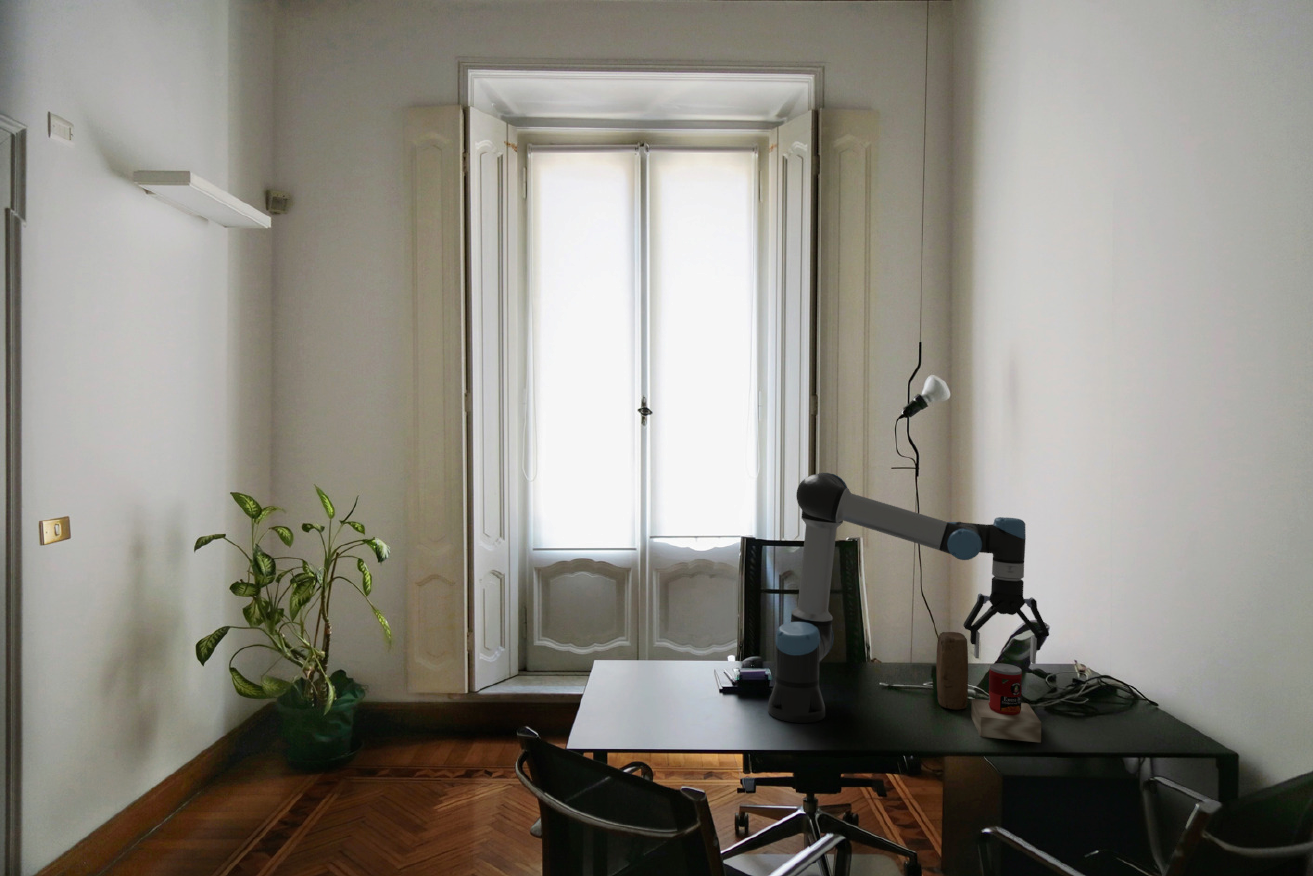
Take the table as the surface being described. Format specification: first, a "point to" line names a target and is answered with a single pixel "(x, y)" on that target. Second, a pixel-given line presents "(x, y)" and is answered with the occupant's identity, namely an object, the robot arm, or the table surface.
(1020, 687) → the canned food
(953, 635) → the block
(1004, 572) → the robot arm
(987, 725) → the birch base block
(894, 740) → the table surface
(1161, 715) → the table surface
